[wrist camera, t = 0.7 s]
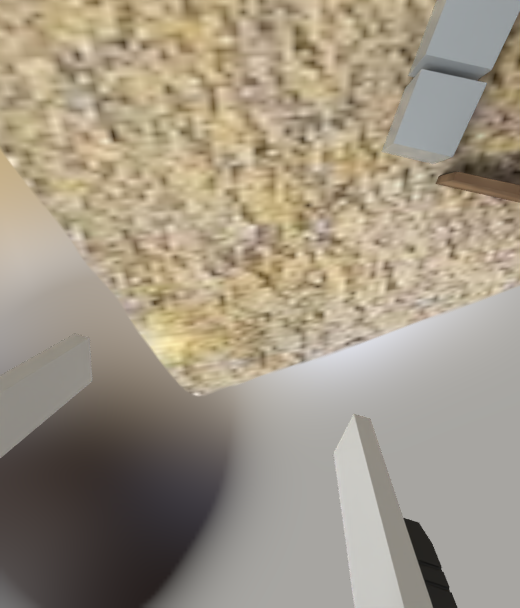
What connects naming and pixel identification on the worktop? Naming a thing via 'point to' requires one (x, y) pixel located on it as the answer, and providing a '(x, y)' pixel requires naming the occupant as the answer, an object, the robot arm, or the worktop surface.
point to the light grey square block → (465, 37)
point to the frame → (481, 185)
